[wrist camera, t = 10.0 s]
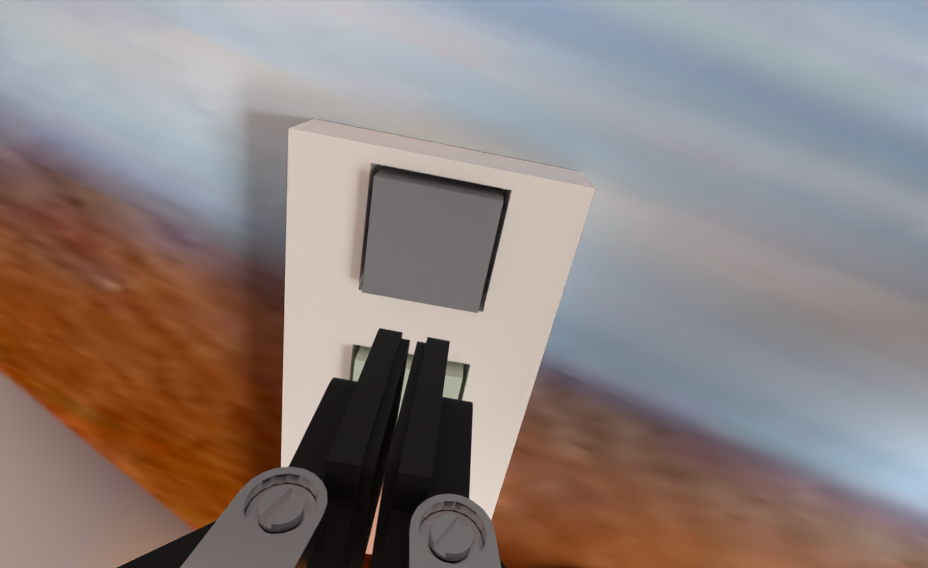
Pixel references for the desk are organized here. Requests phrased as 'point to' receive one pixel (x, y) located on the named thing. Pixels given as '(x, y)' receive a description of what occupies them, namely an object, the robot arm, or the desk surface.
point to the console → (361, 314)
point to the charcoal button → (430, 238)
